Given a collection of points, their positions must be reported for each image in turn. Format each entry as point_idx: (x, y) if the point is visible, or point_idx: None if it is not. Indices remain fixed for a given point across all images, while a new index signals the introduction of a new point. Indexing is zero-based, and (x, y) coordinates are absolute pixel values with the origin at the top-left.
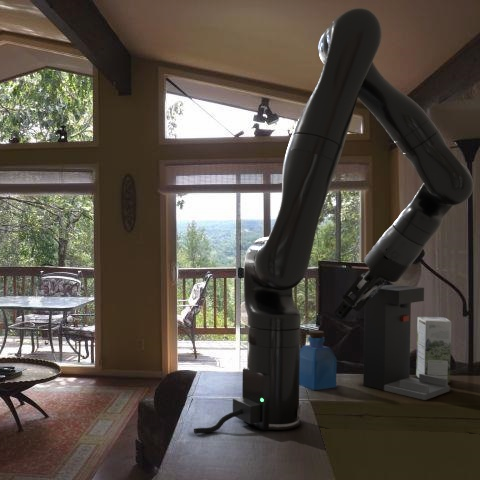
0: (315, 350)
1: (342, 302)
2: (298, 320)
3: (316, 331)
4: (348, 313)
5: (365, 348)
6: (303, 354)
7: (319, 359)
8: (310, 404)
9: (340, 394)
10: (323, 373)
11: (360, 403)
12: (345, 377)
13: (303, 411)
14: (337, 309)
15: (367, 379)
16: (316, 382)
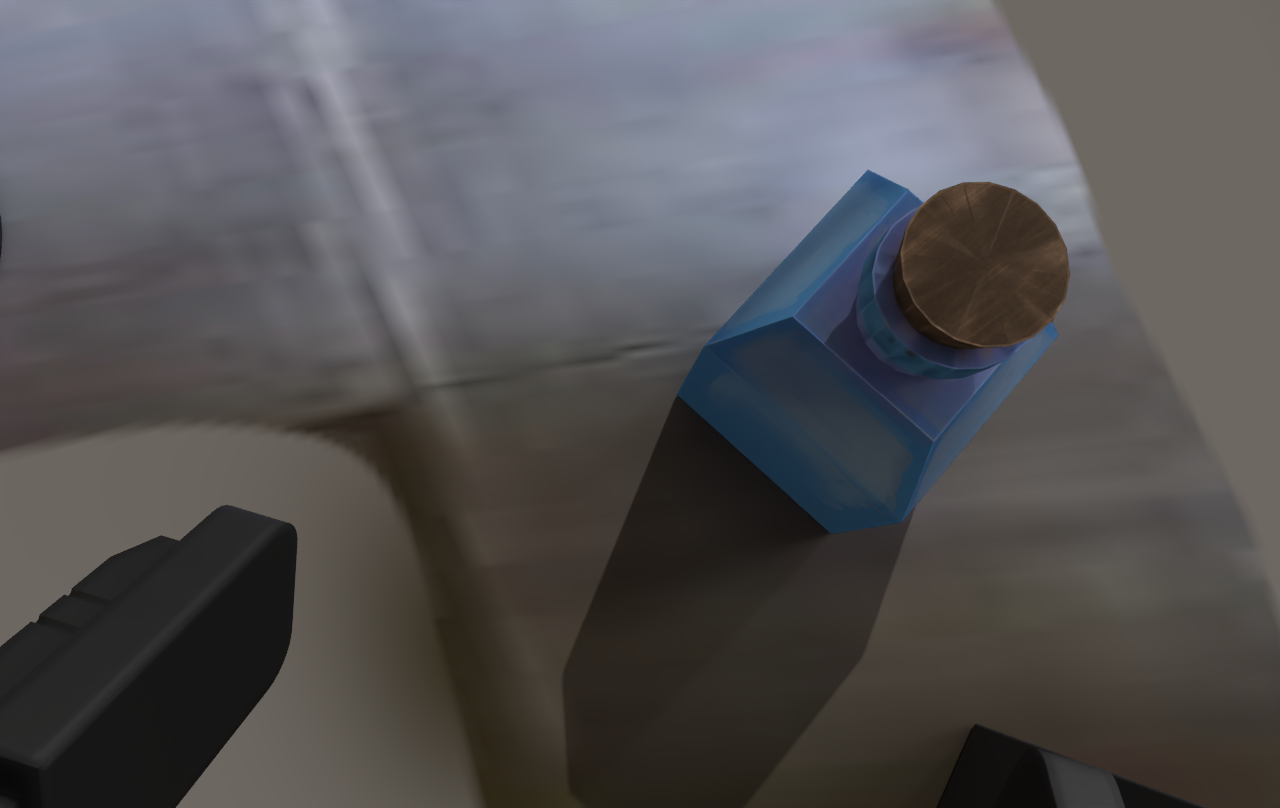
0: (782, 324)
1: (18, 691)
2: None
3: (993, 262)
4: (189, 783)
5: (1135, 802)
6: (829, 227)
7: (758, 381)
8: (314, 416)
9: (651, 582)
10: (763, 435)
11: (475, 739)
12: (1156, 571)
13: (136, 395)
14: (166, 566)
15: (981, 765)
16: (700, 399)
